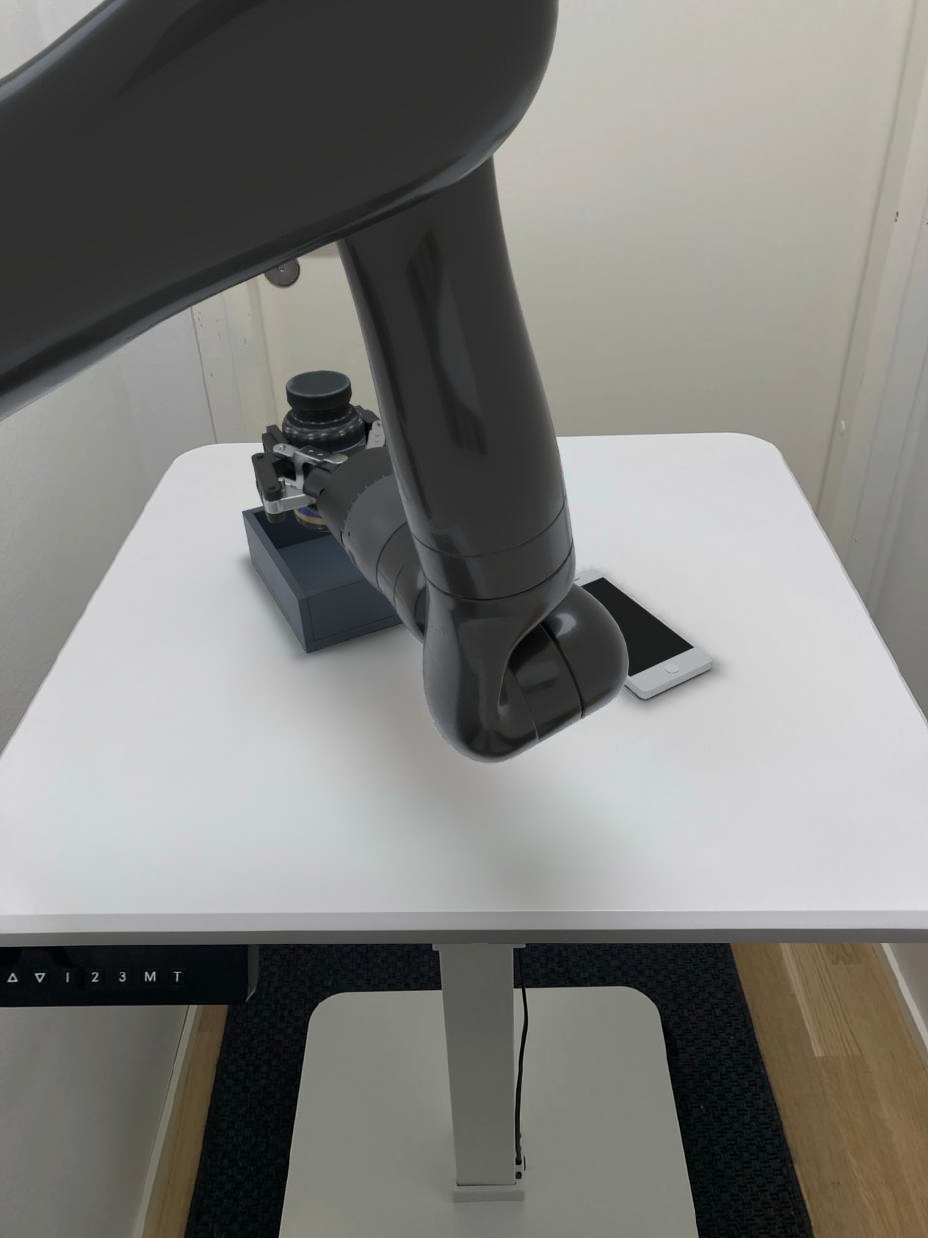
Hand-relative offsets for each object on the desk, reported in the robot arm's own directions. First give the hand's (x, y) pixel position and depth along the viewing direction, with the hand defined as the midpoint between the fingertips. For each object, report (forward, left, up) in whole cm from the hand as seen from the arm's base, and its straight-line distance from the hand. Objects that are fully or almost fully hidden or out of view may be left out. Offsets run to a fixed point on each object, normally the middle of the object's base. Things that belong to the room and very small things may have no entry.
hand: (314, 427), depth 75 cm
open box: (+3, +4, -18) cm, 18 cm away
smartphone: (+19, -14, -18) cm, 30 cm away
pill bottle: (0, -2, -7) cm, 7 cm away
